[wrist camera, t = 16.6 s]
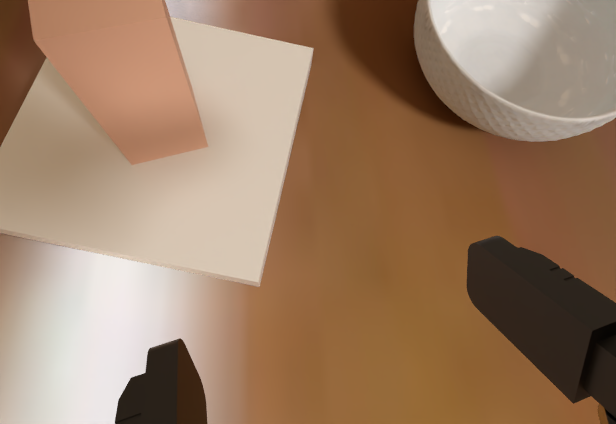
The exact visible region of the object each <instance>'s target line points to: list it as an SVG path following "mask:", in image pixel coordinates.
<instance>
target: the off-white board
mask: <svg viewBox="0 0 616 424" xmlns="http://www.w3.org/2000/svg"><path fill="white" fill-rule="evenodd" d="M170 18H171V22H172V25H173V28H174V31H175V34H176V38H177V41H178V44H179V47H180V50H181V53H182V57H183V60H184V63H185V66H186V69H187V73H188V76H189V79H190V82H191V85H192V89H193V93H194V96H195V100H196V104H197V107H198V111H199V114H200V118H201V122H202V125H203V129H204V133H205V136H206V140H207V144H208V147H205V148H201V149H197V150H193V151H189V152H184V153H180V154H176V155H172V156H168V157H164V158H159V159H155V160H151V161H147V162H143V163H138V164H134V165H131V163H130V162H129V161H128V160H127V158H126V157H125V156H124V155H123V153H122V152H121V151H120V149H119V148H118V147H117V146H116V144H115V143H114V142H113V141H112V139H111V138H110V137H109V136H108V134H107V133H106V132H105V130H104V129H103V128H102V127H101V125H100V124H99V123H98V122H97V120H96V119H95V118H94V116H93V115H92V114H91V113H90V111H89V110H88V109H87V108H86V106H85V105H84V104H83V103H82V101H81V100H80V99H79V97H78V96H77V95H76V94H75V92H74V91H73V90H72V89H71V87H70V86H69V85H68V84H67V82H66V81H65V80H64V78H63V77H62V76H61V75H60V73H59V72H58V71H57V70H56V68H55V67H54V66H53V65H52V63H51V62H50V61H49V59H48V58H46V60H45V62H44V63H43V65H42V67H41V69H40V71H39V73H38V75H37V77H36V79H35V81H34V83H33V85H32V87H31V89H30V91H29V92H28V94H27V96H26V98H25V100H24V102H23V104H22V106H21V108H20V110H19V112H18V114H17V116H16V118H15V120H14V121H13V123H12V125H11V127H10V129H9V131H8V133H7V135H6V137H5V139H4V141H3V143H2V145H1V147H0V233H2V234H7V235H12V236H16V237H21V238H26V239H31V240H36V241H41V242H45V243H50V244H55V245H60V246H65V247H69V248H74V249H79V250H84V251H89V252H94V253H98V254H103V255H108V256H113V257H118V258H122V259H127V260H132V261H137V262H142V263H147V264H151V265H156V266H161V267H166V268H171V269H175V270H180V271H185V272H190V273H195V274H199V275H204V276H209V277H214V278H219V279H224V280H228V281H233V282H238V283H243V284H248V285H252V286H257V287H260V282H261V278H262V274H263V270H264V265H265V261H266V257H267V252H268V248H269V244H270V240H271V235H272V231H273V227H274V222H275V218H276V214H277V210H278V205H279V201H280V197H281V192H282V188H283V184H284V179H285V175H286V171H287V167H288V162H289V158H290V154H291V149H292V145H293V141H294V137H295V132H296V128H297V124H298V119H299V115H300V111H301V107H302V102H303V98H304V94H305V89H306V85H307V81H308V77H309V72H310V68H311V62H312V55H313V48H310V47H305V46H301V45H296V44H291V43H287V42H282V41H278V40H273V39H269V38H264V37H260V36H255V35H251V34H246V33H242V32H237V31H232V30H228V29H223V28H219V27H214V26H210V25H205V24H201V23H196V22H192V21H187V20H183V19H178V18H174V17H170Z"/></svg>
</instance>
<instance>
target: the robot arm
mask: <svg viewBox="0 0 616 424" xmlns="http://www.w3.org/2000/svg"><path fill="white" fill-rule="evenodd" d="M467 291H468V295H469V297H470V299H471V301H472V303H473V304H474V306H475V307H476V308H477V309H478V310H479V311H480V312H481V313H482V314H483V315H484V316H485V317H486V318H487V319H488V320H489V321H490V322H491V323H492V324H493V325H494V326H495V327H496V328H497V329H498V330H499V331H500V332H501V333H502V334H503V335H504V336H505V337H506V338H507V339H508V340H509V341H510V342H511V343H513V344H514V345H515V346H516V347H517V348H518V349H519V350H520V351H521V352H522V353H523V354H524V355H525V356H526V357H527V358H528V359H529V360H530V361H531V362H532V363H533V364H534V365H535V366H536V367H537V368H538V369H539V370H540V371H541V372H542V373H543V374H544V375H545V376H546V377H547V378H548V379H549V380H550V381H551V382H552V383H553V384H554V385H555V386H556V387H557V388H558V389H559V390H560V391H561V392H562V393H563V394H564V395H565V396H566V397H567V398H568V399H569V400H570V401H571V402H572V403H576V402H578V401H580V400H583V399H585V398H587V397H590V396H592V397H593V398H594V399H595V400H596V401H597V402H598V403H599V405H598V416H599V420H600V424H616V303H615V302H613V301H612V300H610V299H609V298H607V297H606V296H604V295H603V294H601V293H600V292H598V291H597V290H595V289H594V288H592V287H591V286H589V285H588V284H586V283H584V282H583V281H581V280H580V279H578V278H574V275H572V274H571V273H569V272H568V271H566V270H565V269H563V268H562V269H560V267H559V265H557V264H556V263H554V262H553V261H551V260H549V259H548V258H546V257H545V256H543V255H542V254H539V253H536V252H533V251H530V250H528V249H525V248H522V247H520V248H517V247H515V246H514V245H512V244H511V243H510V242H508V241H507V240H505V239H504V238H502V237H500V236H494V237H491V238H488V239H484V240H481V241H478V242H475V243H472V244H471V245H470V246H469V249H468V266H467ZM115 424H207V411H206V399H205V393H204V389H203V385H202V382H201V379H200V377H199V374H198V372H197V370H196V368H195V366H194V363H193V361H192V359H191V357H190V355H189V352H188V350H187V348H186V346H185V344H184V342H183V340H182V339H177V340H174V341H171V342H168V343H165V344H162V345H159V346H155V347H152V348H150V349H149V351H148V355H147V365H146V373H144V374H141V375H138V376H135V377H132V378H131V379H130V381H129V382H128V384H127V386H126V388H125V390H124V391H123V393H122V395H121V397H120V398H119V401H118V407H117V413H116V419H115Z"/></svg>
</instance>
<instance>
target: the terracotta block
mask: <svg viewBox="0 0 616 424" xmlns="http://www.w3.org/2000/svg"><path fill="white" fill-rule="evenodd" d="M28 5H29V12H30V19H31V26H32V33H33V40H34V42H35V43H36V44H37V45H38V47H39V48H40V49H41V51H42V52H43V53H44V54H45V56H46V57H47V58H48V59H49V61H50V62H51V63H52V65H53V66H54V67H55V68H56V70H57V71H58V72H59V73H60V75H61V76H62V77H63V78H64V80H65V81H66V82H67V84H68V85H69V86H70V87H71V89H72V90H73V91H74V92H75V94H76V95H77V96H78V97H79V99H80V100H81V101H82V103H83V104H84V105H85V106H86V108H87V109H88V110H89V111H90V113H91V114H92V115H93V116H94V118H95V119H96V120H97V122H98V123H99V124H100V125H101V127H102V128H103V129H104V130H105V132H106V133H107V134H108V136H109V137H110V138H111V139H112V141H113V142H114V143H115V144H116V146H117V147H118V148H119V149H120V151H121V152H122V153H123V155H124V156H125V157H126V158H127V160H128V161H129V162H130V163H131V165H134V164H138V163H143V162H147V161H151V160H155V159H159V158H164V157H168V156H172V155H176V154H180V153H184V152H189V151H193V150H197V149H201V148H205V147H208V144H207V140H206V136H205V133H204V129H203V125H202V122H201V118H200V114H199V111H198V107H197V104H196V100H195V96H194V93H193V89H192V85H191V82H190V79H189V76H188V73H187V69H186V66H185V63H184V60H183V57H182V53H181V50H180V47H179V44H178V41H177V38H176V34H175V31H174V28H173V25H172V22H171V18H170V15H169V12H168V9H167V6H166V2H165V0H28Z"/></svg>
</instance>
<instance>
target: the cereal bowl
mask: <svg viewBox="0 0 616 424" xmlns="http://www.w3.org/2000/svg"><path fill="white" fill-rule="evenodd" d="M414 41H415V48H416V54H417V56H418V61H419V63H420V65H421V69H422V71H423V73H424V75H425V77H426V80H427V81H428V82H429V84H430V86H431V87H432V89H433V91H434V92H435V93H436V95H437V96H438V97H439V99H441V100H442V101H443V103H444V104H445V105H447V106H448V108H449V109H451V110H452V111H453V112H454V113H456V114H457V115H458V116H459V117H461V118H462V119H463V120H464V121H467V122H468V123H469V124H472V125H473V126H475V127H477V128H478V129H481V130H483V131H485V132H488V133H491V134H493V135H496V136H501V137H505V138H509V139H514V140H520V141H529V142H534V141H539V142H542V141H555V140H559V139H566V138H569V137H572V136H577V135H580V134H582V133H584V132H589V131H591V130H593V129H594V128H597V127H600V126H602V125H604V124H605V123H607V122H609V121H612V120H613V119H614V118H616V0H419V1H418V3H417V10H416V13H415V22H414Z"/></svg>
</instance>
